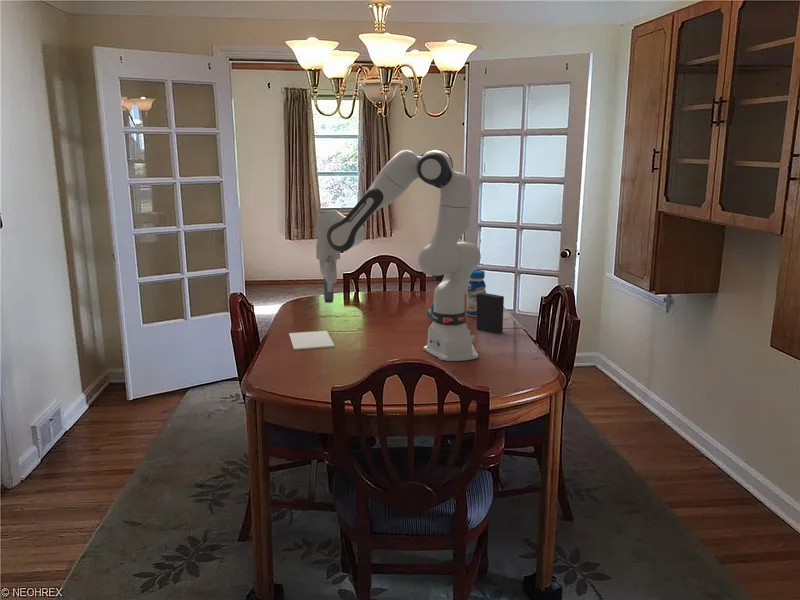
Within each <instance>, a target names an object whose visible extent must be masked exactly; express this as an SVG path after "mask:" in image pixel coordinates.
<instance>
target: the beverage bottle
mask: <svg viewBox="0 0 800 600" xmlns="http://www.w3.org/2000/svg"><path fill="white" fill-rule="evenodd" d="M485 275H486V274H485V271H484V270H483V269H474V271H473V272H472V274H471V276H470V278H469V280H468V283H467V286H466V316H469V317H475V318H477V303H476V297H477V294H478V293H487V291H486V288H487V284H486V282H485V281H484V279H485Z"/></svg>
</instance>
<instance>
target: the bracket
mask: <svg viewBox="0 0 800 600" xmlns="http://www.w3.org/2000/svg"><path fill="white" fill-rule="evenodd" d="M433 310H434V302H432V303H431V305H430V308H428V309H427V316H428V315H429V316H428V317H429V318H431V319H432V314H433ZM431 319H430V320H431ZM431 322H433V320H431Z"/></svg>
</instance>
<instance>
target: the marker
mask: <svg viewBox="0 0 800 600" xmlns="http://www.w3.org/2000/svg"><path fill="white" fill-rule="evenodd" d="M331 271H333V270H331ZM334 287H335V286H334V284H333V286H332V292H328V291H327V282H326V280H325V278H324V277H323V298H324V299H323V300H324V303H327V304H328V303H329V304H330V303H331V304H332V303H333V302H334V291H335V290H334Z"/></svg>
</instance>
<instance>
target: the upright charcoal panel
mask: <svg viewBox="0 0 800 600" xmlns="http://www.w3.org/2000/svg"><path fill="white" fill-rule="evenodd" d="M504 300H505V296H503V295H497V294H492V293H488V292H486V293H478V294H477V297H476V303H477V317H476V327H475V328H476V330H479V331H483V330H484V331H483V332H489V333H493V334H496V335H497V334H501V333H503V329H504V327H503V326H504V307H505V306H504V302H505V301H504Z"/></svg>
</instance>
